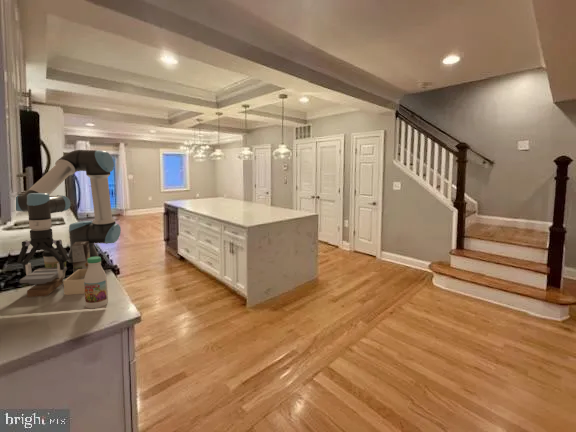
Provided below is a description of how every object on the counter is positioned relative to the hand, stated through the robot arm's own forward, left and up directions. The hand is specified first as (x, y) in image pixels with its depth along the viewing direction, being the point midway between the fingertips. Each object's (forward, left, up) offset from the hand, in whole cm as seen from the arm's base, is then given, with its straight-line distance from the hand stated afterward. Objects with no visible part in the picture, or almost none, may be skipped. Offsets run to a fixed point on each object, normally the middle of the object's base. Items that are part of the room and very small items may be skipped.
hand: (45, 277), depth 134 cm
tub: (0, +14, -6) cm, 15 cm away
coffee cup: (-15, -2, -7) cm, 17 cm away
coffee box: (-24, +6, -7) cm, 26 cm away
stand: (0, 0, -6) cm, 6 cm away
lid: (0, 0, +1) cm, 1 cm away
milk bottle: (+20, +26, -7) cm, 33 cm away
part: (-4, +14, -6) cm, 16 cm away
